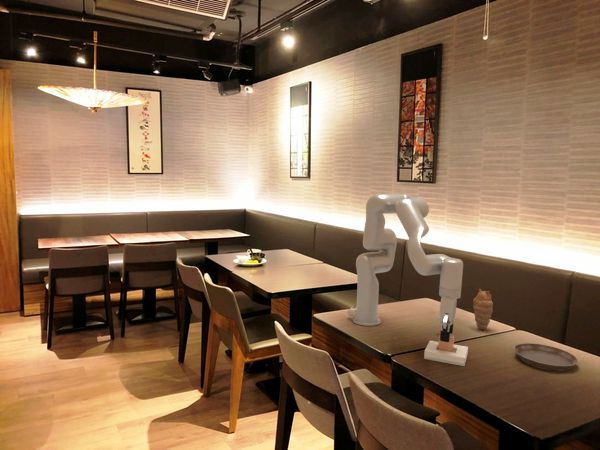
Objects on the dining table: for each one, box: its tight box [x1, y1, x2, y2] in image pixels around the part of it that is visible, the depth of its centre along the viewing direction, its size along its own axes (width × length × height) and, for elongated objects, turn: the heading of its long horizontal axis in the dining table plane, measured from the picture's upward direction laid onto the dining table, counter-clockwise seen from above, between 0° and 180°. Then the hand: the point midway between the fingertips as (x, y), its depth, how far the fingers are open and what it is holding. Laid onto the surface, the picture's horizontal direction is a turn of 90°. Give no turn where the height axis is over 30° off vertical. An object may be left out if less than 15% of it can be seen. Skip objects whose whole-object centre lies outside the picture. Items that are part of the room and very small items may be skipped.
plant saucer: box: [513, 342, 579, 372], centre depth 171 cm, size 21×21×3 cm
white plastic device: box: [436, 315, 454, 335], centre depth 197 cm, size 7×2×8 cm, turn 104°
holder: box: [423, 340, 469, 367], centre depth 173 cm, size 14×12×3 cm
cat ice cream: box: [472, 288, 494, 331], centre depth 203 cm, size 9×8×18 cm
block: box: [438, 334, 455, 352], centre depth 173 cm, size 5×3×7 cm, turn 65°
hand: (446, 337), depth 173 cm, fingers open, 9 cm apart
